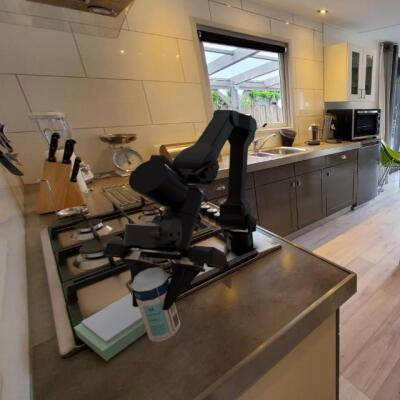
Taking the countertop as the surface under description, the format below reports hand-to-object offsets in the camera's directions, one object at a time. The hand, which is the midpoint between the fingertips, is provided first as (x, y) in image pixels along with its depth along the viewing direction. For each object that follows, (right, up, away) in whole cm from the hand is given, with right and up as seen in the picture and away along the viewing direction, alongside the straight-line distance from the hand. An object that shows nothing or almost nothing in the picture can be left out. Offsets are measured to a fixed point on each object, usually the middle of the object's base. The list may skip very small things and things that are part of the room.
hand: (150, 308), depth 40 cm
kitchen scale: (-11, -7, +9) cm, 16 cm away
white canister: (0, -6, +4) cm, 7 cm away
